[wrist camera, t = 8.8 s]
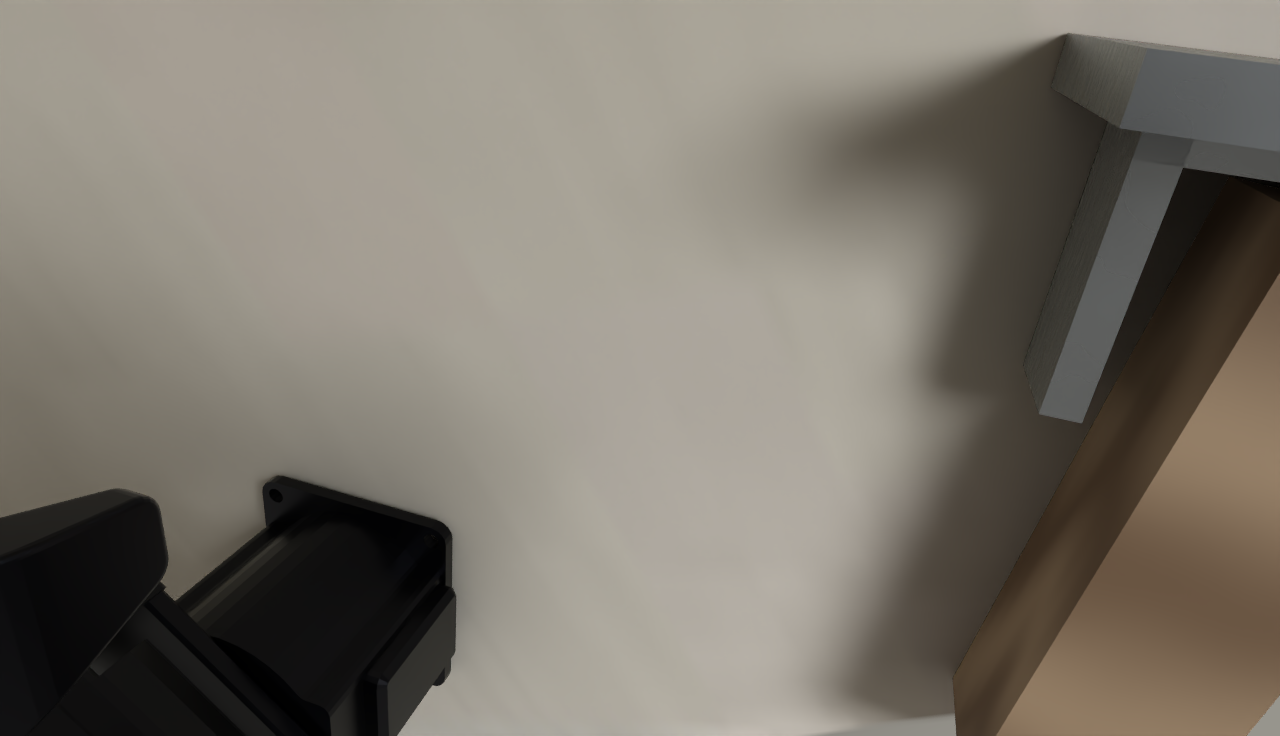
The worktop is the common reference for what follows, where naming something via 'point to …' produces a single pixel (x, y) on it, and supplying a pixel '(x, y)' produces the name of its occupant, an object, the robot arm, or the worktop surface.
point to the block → (1159, 524)
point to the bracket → (1140, 186)
